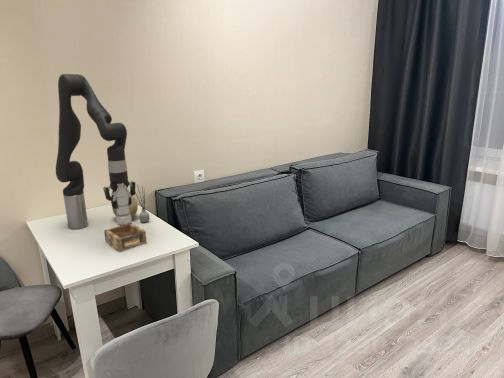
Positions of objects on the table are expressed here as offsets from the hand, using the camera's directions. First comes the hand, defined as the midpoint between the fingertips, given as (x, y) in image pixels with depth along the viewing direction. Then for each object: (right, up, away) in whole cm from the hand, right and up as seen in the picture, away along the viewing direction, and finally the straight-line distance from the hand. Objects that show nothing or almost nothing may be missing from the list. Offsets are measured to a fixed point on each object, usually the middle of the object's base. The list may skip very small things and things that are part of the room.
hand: (122, 206), depth 166 cm
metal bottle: (0, -8, +3) cm, 9 cm away
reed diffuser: (+1, -10, +29) cm, 31 cm away
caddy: (0, -17, +5) cm, 17 cm away
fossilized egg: (-9, -8, +34) cm, 36 cm away
